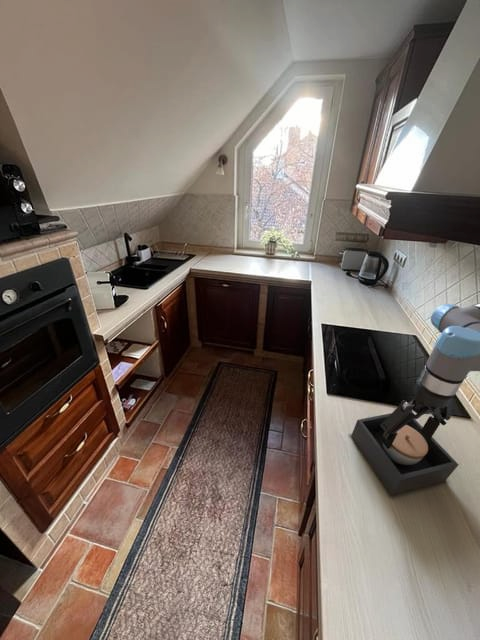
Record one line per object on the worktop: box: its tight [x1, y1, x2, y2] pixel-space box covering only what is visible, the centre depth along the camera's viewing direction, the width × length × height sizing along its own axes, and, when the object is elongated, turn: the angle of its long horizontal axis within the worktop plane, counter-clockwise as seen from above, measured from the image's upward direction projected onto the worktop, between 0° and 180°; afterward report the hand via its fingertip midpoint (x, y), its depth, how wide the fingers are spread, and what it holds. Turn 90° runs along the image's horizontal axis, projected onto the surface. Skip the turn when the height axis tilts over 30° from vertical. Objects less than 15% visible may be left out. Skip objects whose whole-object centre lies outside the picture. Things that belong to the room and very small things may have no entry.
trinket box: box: [382, 425, 428, 465], centre depth 74 cm, size 11×11×9 cm
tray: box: [350, 412, 459, 496], centre depth 75 cm, size 18×18×8 cm
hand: (405, 439), depth 72 cm, fingers open, 13 cm apart
